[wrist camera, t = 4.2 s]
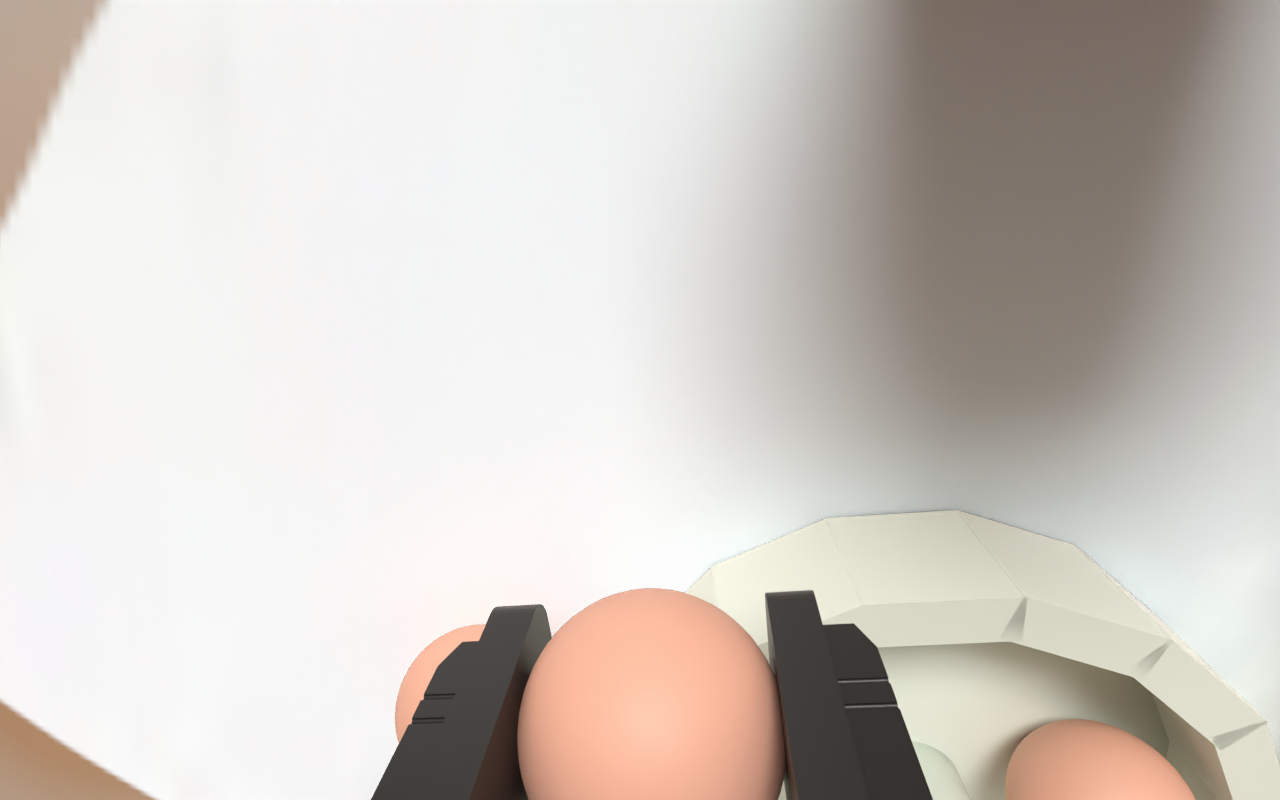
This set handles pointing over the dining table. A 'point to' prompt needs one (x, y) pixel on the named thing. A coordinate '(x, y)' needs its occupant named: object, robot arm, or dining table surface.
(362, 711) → the dining table surface
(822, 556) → the ring tray
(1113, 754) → the salmon orange ball
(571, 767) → the bead
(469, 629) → the peach orange ball
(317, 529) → the dining table surface
